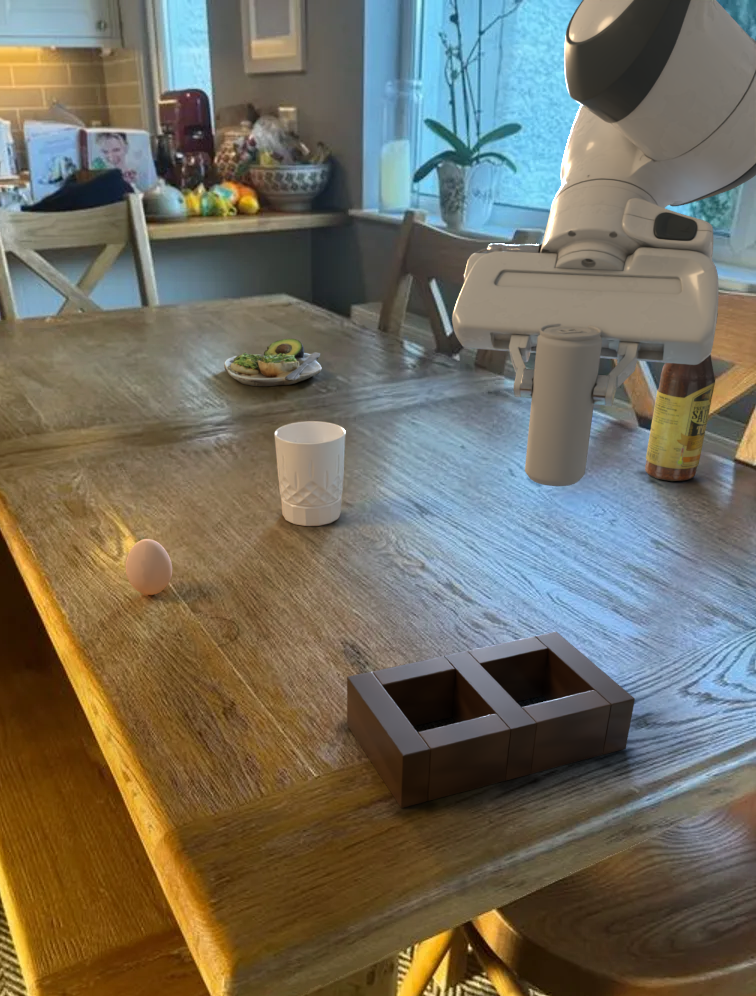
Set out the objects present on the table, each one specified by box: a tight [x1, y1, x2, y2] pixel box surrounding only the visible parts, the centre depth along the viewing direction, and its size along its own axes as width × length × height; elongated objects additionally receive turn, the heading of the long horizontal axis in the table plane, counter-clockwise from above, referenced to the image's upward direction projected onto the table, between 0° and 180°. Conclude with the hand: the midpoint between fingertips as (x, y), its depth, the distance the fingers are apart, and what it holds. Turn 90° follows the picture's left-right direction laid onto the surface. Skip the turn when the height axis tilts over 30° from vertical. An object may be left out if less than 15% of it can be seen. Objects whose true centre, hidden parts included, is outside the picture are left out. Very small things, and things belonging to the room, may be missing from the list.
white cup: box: [273, 420, 346, 527], centre depth 102 cm, size 8×8×10 cm
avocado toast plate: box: [223, 338, 323, 387], centre depth 158 cm, size 19×18×5 cm
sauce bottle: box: [644, 312, 719, 482], centre depth 109 cm, size 7×6×20 cm
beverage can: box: [524, 324, 602, 487], centre depth 72 cm, size 5×5×12 cm
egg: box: [125, 538, 173, 596], centre depth 88 cm, size 4×4×6 cm
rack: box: [346, 631, 636, 809], centre depth 67 cm, size 18×10×4 cm, turn 109°
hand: (562, 398), depth 71 cm, fingers closed on beverage can, 5 cm apart
